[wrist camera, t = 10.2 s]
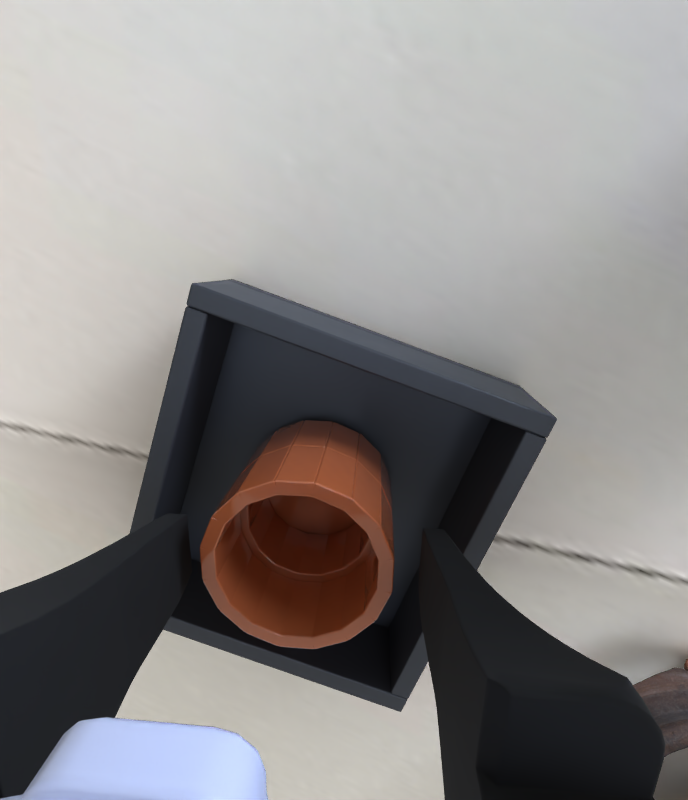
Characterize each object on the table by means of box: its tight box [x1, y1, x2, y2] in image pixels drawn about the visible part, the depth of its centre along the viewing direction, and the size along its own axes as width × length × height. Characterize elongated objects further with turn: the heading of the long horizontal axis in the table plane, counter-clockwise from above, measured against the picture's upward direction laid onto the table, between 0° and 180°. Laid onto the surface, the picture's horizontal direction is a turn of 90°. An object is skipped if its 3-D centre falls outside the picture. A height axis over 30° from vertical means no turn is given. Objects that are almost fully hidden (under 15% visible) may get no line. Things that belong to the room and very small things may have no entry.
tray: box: [130, 279, 557, 712], centre depth 17 cm, size 12×11×4 cm
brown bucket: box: [200, 420, 395, 649], centre depth 15 cm, size 6×6×6 cm
